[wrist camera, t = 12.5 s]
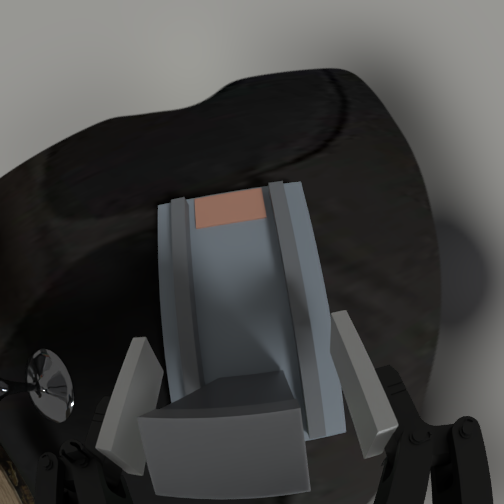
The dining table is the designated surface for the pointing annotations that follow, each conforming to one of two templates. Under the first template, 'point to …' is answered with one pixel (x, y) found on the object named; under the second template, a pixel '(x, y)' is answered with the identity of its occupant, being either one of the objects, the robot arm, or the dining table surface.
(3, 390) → the wine glass
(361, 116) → the dining table surface
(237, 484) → the handle
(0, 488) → the wood slice
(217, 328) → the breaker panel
